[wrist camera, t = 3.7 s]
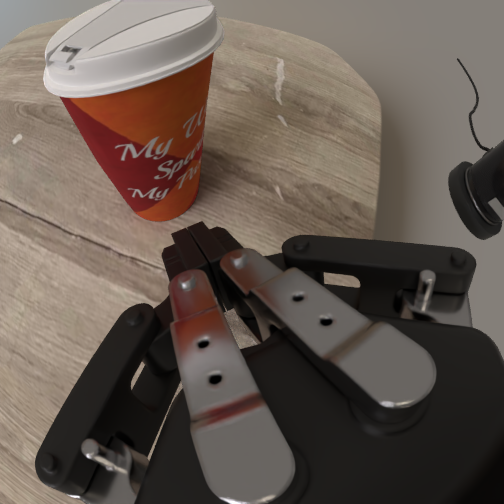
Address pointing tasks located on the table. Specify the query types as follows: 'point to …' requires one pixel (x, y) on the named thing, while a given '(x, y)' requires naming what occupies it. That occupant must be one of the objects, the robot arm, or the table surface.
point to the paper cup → (140, 94)
